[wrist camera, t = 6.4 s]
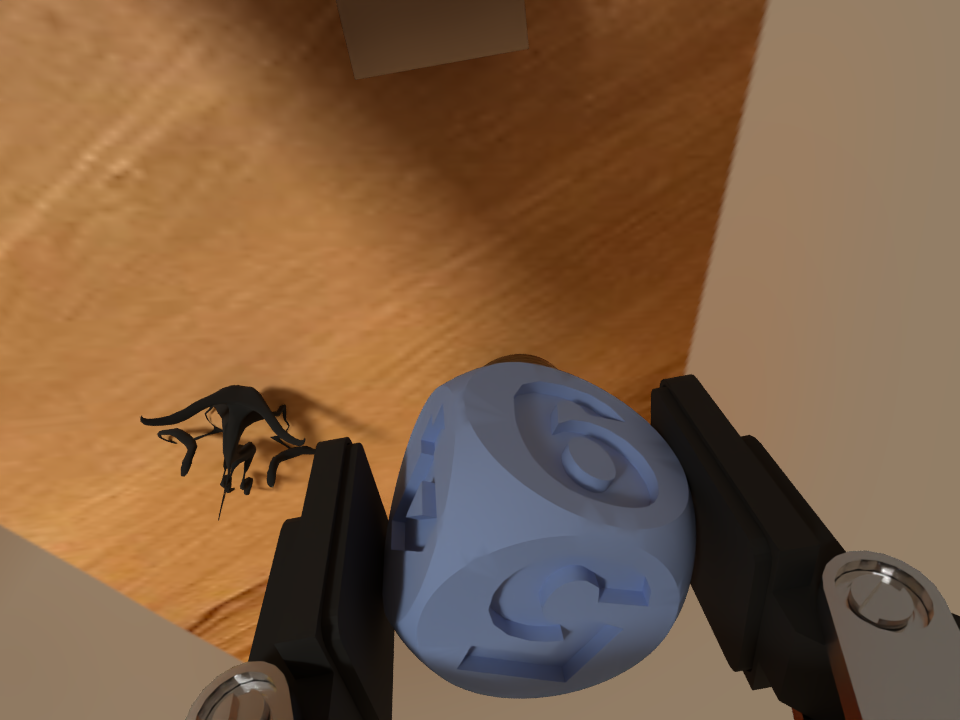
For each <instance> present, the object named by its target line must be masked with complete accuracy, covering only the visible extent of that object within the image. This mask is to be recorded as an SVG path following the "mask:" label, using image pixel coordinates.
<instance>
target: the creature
mask: <svg viewBox="0 0 960 720" xmlns="http://www.w3.org/2000/svg"><path fill="white" fill-rule="evenodd" d="M208 407H210V409H208V410H207V411H206V413H205V416H206V418H207V415H206V414H207V413H208V412H209V411H210V410H211V409H212V408H213V407H215V408H216V410H217V412H218V414H219V415H220V416H221V418H222V428H223V430H221V429H219V428H217V427H215V426H214V425H213V424H212V423H211V422H210V421H209V420H208V418H207V420H208V421H209V422H210V423H211V424H212V425H213V426H214V430H213V431H212V432H210V433H207V434H205V435H202V436H199V437H196V438H194V439H193V437H192V436H191V435H190V434H188V433H186V432H185V431H183V430H181V429H179V428H175V429H168V430H162V431H159V432H158V437H159V438H161V439H163V440H165V441H168V442H171V443H174V444H177V443H175V442H172V441H169V440H166V439H164V438H162V437H161V435H172V436H174V437H176V438H177V439H178V440H179V441H180V442H182V443H183V444H184V445H185V446H186V448H187V450H188V451H187V453H186V455H185V458H184V459H183V461H182V466H181V476H185V475H187V473H188V471H189V469H190V467H191V464H192V459H193V457H194V454H195V451H196V449H197V444H196V441H195V440H197V439H199V438H202V437H204V436H207V435H211V434H215V433H219V432H223V454H224V465H223V467H224V474H223V478H222V481H221V483H220V485H221V486H222V487H223V488H224V494H226V492H227V493H230V492H232V491H233V490H234V489H235V488H231V482H232V477H231V476H232V473H233V471H234V469H235V468H236V467H237V466H238V465H239V464H240V463H242V462H243V461H245V463H244V475H243V479H242V482H241V485H240V489H242V490H244V494H245V495H249V493H250V490H251V487H252V483H253V479H252V478H250V477H248V478H246V479H245V473H246V472H247V470H248V469H249V466H250V464H251V462H252V459H253V457H254V454H255V452H256V447H255V445H254V444H253V443H252V442H248V443H247V444H245V445H239V444H238V443H239V440H240V437H241V435H242V433H243V431H244V430H245V428H246V427H248V426H249V425H251V424H252V423H254V422H256V421H259V420H263V419H265V420H266V422H267V423H268V424H269V426H270V427H271V429H272V430H273V431H274V432H275V433H276V434H277V435H278V436H274V437H271V438H272V439H274V440H275V441H277V442H279V443H281V444H282V445H284V446H286V447H287V448H289V449H288V450H285V451H283V452H281V453H280V454H278V455H277V456H275V457H273V458H272V460H271V462H270V465H269V470H268V472H267V484H268V485H269V486H270V487H273V486H274V484H275V479H276V471H277V468H278V465H279V463H280V462H282V461H285V460H288V459H291V458H294V457H297V456H299V455H302V454H315V450H316V449H313V448H311V447H308V446H302V445H303V444H304V443H305V438H304V440H299V439H296V438H294V437H293V436H291V435H290V434H288V433H287V432H286V431H287V430H288V428H289V426H290V425H289V423H288V422H287V420H286V405H282V406H280V407H279V409H278V410H277V411H275V412H272V411H271V410H270V408H269V407H268V405H267V404H266V402H265V401H264V399H263V397H262V396H261V394H260V393H259V392H258V391H257V390H256V389H254V388H252V387H246V386H240V385H231V386H228V387H225V388H222V389H221V390H219V391H217V392H215V393H214V394H212V395H209V396H207V397H205V398H203V399H200V400H198V401H196V402H194V403H193V404H191V405H190V406H188V407H187V408H185V409H183V410H181V411H179V412H176V413H174V414H172V415H170V416H166V417H161V418H154V419H146V418H143V417H142V416H141V418H140V420H141V422H142V423H143V424H144V425H148V426H163V425H172V424H177V423H180V422H182V421H185V420H187V419H189V418H190V417H192V416H194V415H195V414H197V413H198V412H200V411H202V410H204V409H206V408H208ZM282 412H283V418H284V420H285V422H286V423H287V425H288V428H287V430H286V431H285V430H284V429H283V428H282V426H281V425H280V423H279V422H278V420H277V419H276V417H275V416H280V414H281V413H282ZM279 438H281V439H283V440H284V441H286V442H288V443H291V444H293V445H297V446H299V447H294V448H290V447H289V446H287V445H286V444H284V443H283V442H282V441H281V440H280V439H279ZM227 468H228V475H225V472H226V469H227ZM230 471H231V473H230ZM224 498H225V495H223V499H222V504H221V509H222V505H223V502H224ZM221 509H220V513H221ZM220 513H219V518H220ZM219 518H218V520H219Z"/></svg>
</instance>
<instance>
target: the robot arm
mask: <svg viewBox="0 0 960 720" xmlns="http://www.w3.org/2000/svg"><path fill="white" fill-rule="evenodd" d="M651 426H652V427H653V428H654V429H655V430H656V431H657V432H658V433H659V434H660V435H661V436H662V438H663V439H664V440H665V441H666V442H667V444H668V445H669V446H670V448H671V449H672V450H673V452H674V453H675V455H676V457H677V458H678V460H679V462H680V464H681V466H682V468H683V470H684V473H685V476H686V479H687V482H688V485H689V488H690V492H691V495H692V500H693V505H694V511H695V521H696V551H695V560H694V567H693V573H692V577H691V582H690V584H691V586H692V588H693V590H694V592H695V595H696V597H697V599H698V601H699V603H700V605H701V607H702V609H703V611H704V614H705V616H706V618H707V620H708V622H709V624H710V626H711V628H712V630H713V632H714V635H715V637H716V638H717V641H718V643H719V645H720V647H721V649H722V651H723V654H724V656H725V657H726V660H727V661H728V664H729V665H730V667H731V668H732V669H733V671H735V672H738V671H743V672H744V674H745V676H746V678H747V680H748V682H749V685H750V687H751V689H752V690H757V689H763V688H768V687H772V688H773V690H774V692H775V694H776V696H777V698H778V700H779V701H781V702H782V703H784V704H786V705H788V706H790V707H791V708H792V712H793V717H794V720H960V616H958V615H955V614H953V613H951V612H950V610H949V607H948V605H947V603H946V601H945V599H944V598H943V597H942V595H941V593H940V592H939V591H938V589H937V587H936V586H935V585H934V584H933V583H932V582H931V581H930V580H929V579H928V578H927V577H926V576H924V575H923V574H922V573H921V572H920V571H918V570H917V569H915V568H913V567H912V566H910V565H908V564H907V563H905V562H903V561H901V560H899V559H896V558H893V557H891V556H888V555H885V554H881V553H875V552H870V551H849V552H846V551H845V550H844V549H843V548H842V546H841V545H840V544H839V543H838V541H837V540H836V539H835V537H833V535H832V534H831V532H830V531H829V530H828V529H827V527H826V526H825V525H824V523H823V522H822V521H821V520H820V518H819V517H818V516H817V514H816V513H815V512H814V511H813V509H812V508H811V507H810V506H809V504H808V503H807V502H806V500H805V499H804V498H803V497H802V495H801V494H800V493H799V492H798V490H797V489H796V488H795V486H794V485H793V484H792V483H791V481H790V480H789V479H788V477H787V476H786V475H785V474H784V472H783V471H782V470H781V469H780V468H779V466H778V465H777V464H776V462H775V461H774V460H773V458H772V457H771V456H770V455H769V453H768V452H767V451H766V449H765V448H764V447H763V446H762V444H761V443H760V442H759V441H758V440H757V439H756V438H755V437H753V436H751V435H747V436H742V437H740V435H739V434H738V433H737V431H736V430H735V429H734V427H733V426H732V425H731V424H730V422H729V421H728V419H727V418H726V417H725V415H724V414H723V413H722V411H721V410H720V409H719V407H718V406H717V405H716V403H715V402H714V401H713V400H712V398H711V397H710V395H709V394H708V393H707V391H706V390H705V389H704V388H703V386H702V385H701V383H700V382H699V381H698V379H697V378H696V377H695V376H694V375H685V376H679V377H674V378H668V379H663V380H662V381H661V383H660V388H656V389H653V390H652V392H651ZM387 527H388V518H387V515H386V512H385V509H384V506H383V504H382V501H381V498H380V495H379V492H378V489H377V486H376V483H375V480H374V477H373V474H372V472H371V469H370V466H369V463H368V460H367V457H366V454H365V451H364V448H363V446H362V444H361V443H354V444H352V442H351V440H350V438H349V437H344V438H339V439H334V440H328V441H323V442H319V443H318V444H317V446H316V450H315V455H314V460H313V464H312V469H311V474H310V478H309V483H308V488H307V492H306V497H305V502H304V506H303V511H302V516H301V517H298V518H292V519H287V520H286V521H285V522H284V523H283V526H282V528H281V531H280V535H279V539H278V543H277V547H276V551H275V555H274V559H273V563H272V567H271V571H270V575H269V579H268V583H267V587H266V592H265V596H264V600H263V604H262V608H261V612H260V616H259V620H258V624H257V628H256V632H255V636H254V640H253V644H252V648H251V652H250V656H249V660H248V662H246V663H243V664H240V665H237V666H234V667H232V668H230V669H229V670H227V671H225V672H224V673H222V674H220V675H219V676H217V677H216V678H215V679H214V680H213V681H212V682H211V683H210V684H209V685H207V686H206V687H205V688H204V689H203V690H202V692H201V693H200V694H199V696H198V697H197V699H196V700H195V701H194V703H193V704H192V705H191V708H190V710H189V712H188V715H187V717H186V719H185V720H392V692H393V659H394V628H393V627H392V625H391V624H390V622H389V621H388V619H387V617H386V614H385V611H384V606H383V597H382V587H383V567H384V548H385V540H386V533H387Z"/></svg>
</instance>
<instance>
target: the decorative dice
mask: <svg viewBox="0 0 960 720" xmlns="http://www.w3.org/2000/svg"><path fill="white" fill-rule="evenodd" d="M695 551H696V521H695V511H694V505H693V500H692V495H691V492H690V488H689V485H688V482H687V479H686V476H685V473H684V470H683V468H682V466H681V464H680V462H679V460H678V458H677V457H676V455H675V453H674V452H673V450H672V449H671V448H670V446H669V445H668V444H667V442H666V441H665V440H664V439H663V438H662V436H661V435H660V434H659V433H658V432H657V431H656V430H655V429H654V428H653V427H652V426H651V425H650V424H649V423H648V422H647V421H646V420H645V419H643V418H642V417H641V416H640V415H639V414H638V413H636V412H635V411H634V410H633V409H631V408H630V407H629V406H627V405H626V404H625V403H623V402H622V401H620V400H619V399H617V398H616V397H614V396H613V395H611V394H609V393H608V392H606V391H604V390H603V389H601V388H599V387H597V386H595V385H593V384H591V383H589V382H587V381H585V380H583V379H581V378H579V377H576V376H574V375H571V374H569V373H566V372H563V371H560V370H557V369H554V368H550V367H546V366H542V365H537V364H531V363H523V362H503V363H497V364H493V365H489V366H485V367H481V368H477V369H475V370H472V371H469V372H467V373H464V374H462V375H460V376H457V377H455V378H454V379H452V380H450V381H448V382H446V383H445V384H443V385H441V386H439V387H438V388H437V389H436V390H435V391H434V392H433V393H432V394H431V395H430V397H429V398H428V400H427V402H426V403H425V405H424V407H423V409H422V411H421V413H420V415H419V417H418V419H417V422H416V424H415V426H414V429H413V431H412V434H411V437H410V440H409V442H408V445H407V448H406V451H405V455H404V458H403V461H402V465H401V468H400V472H399V475H398V479H397V483H396V487H395V492H394V496H393V500H392V505H391V510H390V515H389V521H388V527H387V533H386V540H385V548H384V567H383V587H382V597H383V606H384V611H385V614H386V617H387V619H388V621H389V622H390V624H391V625H392V627H393V628H394V630H395V631H396V633H397V634H398V636H399V637H400V638H401V640H402V641H403V642H404V643H405V645H406V646H407V647H408V648H409V649H410V650H411V651H412V653H413V654H415V656H416V657H417V658H418V659H419V660H420V661H421V662H423V663H424V664H425V665H426V666H427V667H428V668H430V669H431V670H432V671H433V672H435V673H436V674H437V675H439V676H440V677H442V678H443V679H445V680H446V681H448V682H450V683H451V684H453V685H455V686H458V687H460V688H463V689H465V690H468V691H471V692H474V693H478V694H483V695H487V696H493V697H501V698H540V697H549V696H556V695H561V694H566V693H571V692H575V691H579V690H582V689H585V688H588V687H591V686H594V685H597V684H600V683H602V682H605V681H607V680H609V679H611V678H613V677H616V676H617V675H619V674H621V673H623V672H625V671H627V670H628V669H630V668H632V667H633V666H635V665H636V664H638V663H639V662H640V661H642V660H643V659H644V658H645V657H647V656H648V655H649V654H650V653H651V652H652V651H653V650H654V649H656V648H657V646H658V645H659V644H660V643H661V642H662V641H663V639H664V638H665V637H666V635H667V634H668V633H669V631H670V629H671V628H672V626H673V624H674V622H675V621H676V619H677V617H678V615H679V613H680V611H681V609H682V606H683V604H684V601H685V599H686V595H687V593H688V589H689V585H690V582H691V577H692V573H693V567H694V560H695Z"/></svg>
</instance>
